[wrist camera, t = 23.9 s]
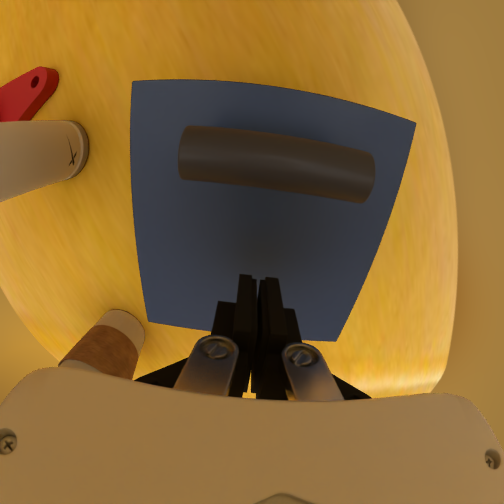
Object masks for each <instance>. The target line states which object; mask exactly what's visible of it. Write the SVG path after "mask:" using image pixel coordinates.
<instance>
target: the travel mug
mask: <svg viewBox="0 0 504 504" xmlns="http://www.w3.org/2000/svg"><path fill="white" fill-rule="evenodd" d="M87 156H88V138H87V135H86V133H85V131H84V129H83V128H82V126H81V125H80V124H78V123H77V122H74V121H59V120H41V121H12V122H0V202H2V201H5V200H7V199H10V198H13V197H15V196H18V195H21V194H24V193H26V192H29V191H32V190H35V189H38V188H41V187H44V186H47V185H50V184H53V183H57V182H60V181H63V180H67V179H70V178H73V177H74V176H76V175H77V174H78V173H79V172H80V171H81V170H82V168H83V166H84V164H85V162H86V159H87Z"/></svg>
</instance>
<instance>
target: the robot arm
mask: <svg viewBox="0 0 504 504" xmlns="http://www.w3.org/2000/svg"><path fill="white" fill-rule="evenodd" d="M250 373H251V393H256V399H251V398H242V395H243V392H247V389H248V384H249V379H250ZM0 504H504V452H503V450H502V447H501V446H500V443H499V442H498V440H497V438H496V436H495V434H494V432H493V431H492V429H491V427H490V426H489V424H488V422H487V421H486V419H485V418H484V416H483V415H482V414H481V412H480V411H479V410H478V408H477V407H476V406H475V405H474V404H473V403H472V402H471V401H470V400H468V399H466V398H464V397H461V396H457V395H452V394H446V393H423V394H414V395H404V396H394V397H385V398H373V399H372V398H371V397H370V396H368V395H367V394H365V393H363V392H362V391H360V390H358V389H357V388H355V387H353V386H351V385H350V384H348V383H346V382H345V381H343V380H341V379H340V378H338V377H336V376H335V375H333V374H331V372H330V370H329V368H328V366H327V364H326V362H325V360H324V358H323V356H322V354H321V353H320V351H319V350H318V349H316V348H315V347H314V346H312V345H309V344H306V343H302V340H301V335H300V331H299V326H298V322H297V317H296V313H295V310H294V309H292V308H284V307H283V302H282V296H281V290H280V284H279V279H278V278H273V277H265V280H261V279H260V284H259V290H258V297H257V279H253V278H252V275H247V274H239V282H238V290H237V299H236V303H234V302H225V301H218V303H217V308H216V312H215V317H214V322H213V327H212V331H211V335H208V336H205V337H202V338H201V339H199V340H198V341H197V343H196V344H195V346H194V348H193V350H192V352H191V354H190V356H189V357H188V358H186V359H183V360H181V361H179V362H176V363H174V364H171V365H169V366H167V367H164V368H162V369H159V370H157V371H154V372H152V373H149V374H147V375H144V376H142V377H139V378H138V379H136V380H134V381H133V380H129V379H124V378H120V377H115V376H111V375H107V374H103V373H99V372H95V371H89V370H84V369H78V368H69V367H49V368H42V369H38V370H35V371H33V372H31V373H29V374H28V375H26V376H25V377H24V378H23V379H22V380H21V381H20V382H19V383H18V384H17V385H16V386H15V387H14V388H13V389H12V391H11V392H10V393H9V394H8V396H7V397H6V398H5V400H4V401H3V402H2V404H1V405H0Z"/></svg>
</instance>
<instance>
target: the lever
mask: <svg viewBox="0 0 504 504" xmlns="http://www.w3.org/2000/svg"><path fill="white" fill-rule="evenodd" d="M58 81H59V75H58V72H57V71H56V70H54V69H50V68H46V67H37V68H35V69H33V70H31V71H29V72H27V73H25V74H23V75H21V76H19V77H18V78H16V79H14V80H12V81H11V82H9V83H7V84H6V85H4V86H2V87H1V88H0V122H12V121H30V120H31V118H32V117H33V116H34V115H35V114H36V112H37V111H38V110H39V109H40V108H41V106H42V105H43V104H44V103H45V102H46V101H47V100H48V99H49V97H50V96H51V95H52V94H53V93H54V91H55V90H56V88H57V85H58Z"/></svg>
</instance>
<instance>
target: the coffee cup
mask: <svg viewBox="0 0 504 504" xmlns="http://www.w3.org/2000/svg"><path fill="white" fill-rule="evenodd" d="M144 340H145V332H144V329H143V327H142V325H141V324H140V322H139V321H138V320H137V319H136V318H135V317H134V316H132V315H131V314H129V313H127V312H125V311H122V310H110V311H108V312H107V313H105V314H104V315H103V316H102V318H101V319H100V320H99V321H98V322H97V323H96V324H95V325H94V326H93V327H92V328H91V329H90V330H89V331H88V332H87V333H86V334H85V335H84V336H83V338H82V339H81V340H80V341H79V342H78V343H77V344H76V345H75V346H74V347H73V348H72V349H71V350H70V351H69V353H68V354H67V355H66V356H65V357H64V358H63V359H62V360H61V361H60V363H59V365H58V367H69V368H78V369H84V370H89V371H95V372H99V373H103V374H107V375H111V376H115V377H120V378H124V379H129V380H132V378H133V374H134V371H135V368H136V364H137V361H138V357H139V354H140V351H141V349H142V346H143V343H144Z"/></svg>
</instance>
